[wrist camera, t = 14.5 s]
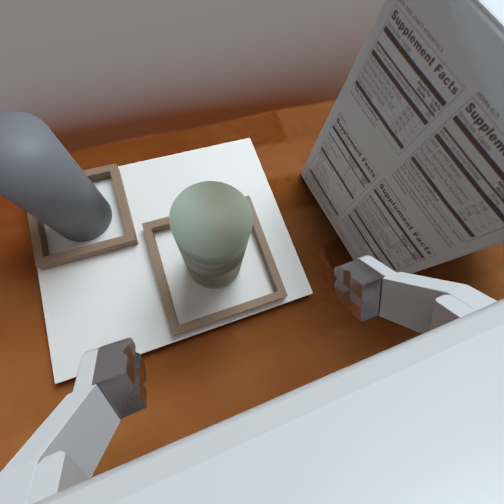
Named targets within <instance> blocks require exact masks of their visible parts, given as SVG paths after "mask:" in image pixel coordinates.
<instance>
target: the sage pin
mask: <svg viewBox="0 0 504 504" xmlns="http://www.w3.org/2000/svg"><path fill="white" fill-rule="evenodd" d="M169 224H170V229H171V232H172V234H173V237H174V239H175V241H176V244H177V246H178V248H179V251H180V253H181V255H182V257H183V260H184V262H185V264H186V267H187V269H188V271H189V274H190V276H191V277H192V279H193V280H194V281H195V282H196V283H198V284H199V285H201V286H203V287H205V288H210V289H218V288H222V287H225V286H227V285H229V284H230V283H231V282H233V281H234V280H235V278H236V277H237V275H238V273H239V271H240V268H241V264H242V261H243V257H244V254H245V251H246V247H247V244H248V241H249V237H250V234H251V230H252V227H253V213H252V209H251V206H250V204H249V202H248V200H247V199H246V197H245V196H244V195H243V194H242V193H241V192H240V191H239V190H237V189H236V188H234V187H233V186H231V185H228V184H226V183H223V182H218V181H204V182H199V183H196V184H193V185H191V186H189V187H187V188H186V189H184V190H183V191H182V192H181V193H180V194H179V195H178V196H177V197H176V199H175V200H174V202H173V204H172V206H171V209H170V213H169Z"/></svg>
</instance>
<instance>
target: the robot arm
mask: <svg viewBox="0 0 504 504" xmlns="http://www.w3.org/2000/svg"><path fill="white" fill-rule="evenodd" d="M334 276H335V277H336V278H337V280H336V282H335V283H334V291H335V294H336V297H337V298H338V300H339V301H340V302H341V303H342V304H343V305H345V306H348V307H350V312H351V313H352V314H353V315H354V316H355V317H356V318H357V319H358V320H359V321H360V322H362V321H365V320H367V319H370V318H373V317H376V316H378V315H379V316H380V317H382V318H385V319H387V320H390V321H392V322H394V323H397V324H399V325H402V326H404V327H407V328H409V329H411V330H414V331H416V332H419V333H421V335H419V336H417V337H414V338H412V339H410V340H407V341H405V342H403V343H401V344H398V345H396V346H394V347H391V348H389V349H387V350H384V351H382V352H380V353H377V354H375V355H373V356H371V357H368V358H366V359H364V360H361V361H359V362H357V363H354V364H352V365H350V366H348V367H345V368H343V369H341V370H338V371H336V372H334V373H331V374H329V375H327V376H325V377H322V378H320V379H318V380H315V381H313V382H311V383H308V384H306V385H304V386H302V387H299V388H297V389H295V390H292V391H290V392H288V393H285V394H283V395H281V396H279V397H276V398H274V399H272V400H269V401H267V402H265V403H262V404H260V405H258V406H256V407H253V408H251V409H249V410H246V411H244V412H242V413H240V414H237V415H235V416H233V417H230V418H228V419H226V420H223V421H221V422H219V423H217V424H214V425H212V426H210V427H207V428H205V429H203V430H200V431H198V432H196V433H194V434H191V435H189V436H187V437H184V438H182V439H180V440H177V441H175V442H173V443H171V444H168V445H166V446H164V447H161V448H159V449H157V450H154V451H152V452H150V453H148V454H145V455H143V456H141V457H138V458H136V459H134V460H131V461H129V462H127V463H125V464H122V465H120V466H118V467H115V468H113V469H111V470H108V471H106V472H104V473H102V474H99V475H97V476H95V477H92V475H93V473H94V471H95V469H96V467H97V465H98V463H99V461H100V459H101V457H102V456H103V454H104V452H105V450H106V448H107V446H108V444H109V442H110V440H111V438H112V436H113V434H114V432H115V431H116V429H117V427H118V425H119V423H120V421H121V420H120V419H122V418H124V417H126V416H129V415H131V414H133V413H136V412H138V411H140V410H143V409H145V408H147V403H146V389H145V387H144V385H143V384H144V383H145V381H146V370H145V365H144V362H143V359H142V357H141V355H140V353H137V352H135V348H136V345H135V343H134V341H133V340H132V338H130V337H129V338H126V339H123V340H120V341H117V342H114V343H110V344H107V345H104V346H101V347H99V348H95V349H92V350H89V351H86V352H84V353H83V355H82V357H81V361H80V365H79V369H78V373H77V377H76V381H75V385H74V389H73V393H70V394H68V395H67V396H66V397H65V398H64V399H63V400H62V402H61V403H60V404H59V405H58V406H57V407H56V409H55V410H54V411H53V412H52V413H51V414H50V415H49V417H48V418H47V419H46V420H45V421H44V422H43V424H42V425H41V426H40V427H39V428H38V429H37V431H36V432H35V433H34V434H33V435H32V436H31V438H30V439H29V440H28V441H27V442H26V443H25V444H24V446H23V447H22V448H21V449H20V450H19V451H18V453H17V454H16V455H15V456H14V457H13V458H12V460H11V461H10V462H9V463H8V464H7V465H6V467H5V468H4V469H3V470H2V471H1V472H0V504H504V299H502V300H499V301H496V300H494V299H493V298H491V297H489V296H487V295H485V294H483V293H482V292H480V291H478V290H476V289H474V288H472V287H471V286H469V285H466V284H461V283H456V282H451V281H446V280H440V279H435V278H430V277H425V276H420V275H415V274H409V273H404V272H398V273H397V272H395V271H393V270H392V269H390V268H389V267H387V266H386V265H384V264H383V263H381V262H379V261H378V260H376V259H375V258H373V257H372V256H369V255H366V256H363V257H360V258H358V259H356V260H353V261H350V262H347V263H344V264H342V265H339V266H336V267H335V269H334ZM91 477H92V478H91Z"/></svg>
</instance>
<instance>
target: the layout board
mask: <svg viewBox="0 0 504 504" xmlns="http://www.w3.org/2000/svg"><path fill="white" fill-rule="evenodd" d="M204 181H218V182H223V183H226V184H228V185H231V186H233V187H234V188H236V189H237V190H239V191H240V192H241V193H242V194H243V195H244V196H245V197H246V199H247V200H248V202H249V204H250V206H251V209H252V213H253V227H252V230H251V234H250V237H249V241H248V244H247V247H246V251H245V254H244V257H243V261H242V264H241V268H240V271H239V273H238V275H237V277H236V278H235V280H234V281H233V282H231V283H230V284H229V285H227V286H225V287H222V288H218V289H210V288H205V287H203V286H201V285H199V284H198V283H196V282H195V281H194V280H193V279H192V277H191V276H190V274H189V271H188V269H187V267H186V264H185V262H184V260H183V257H182V255H181V253H180V251H179V248H178V246H177V244H176V241H175V239H174V237H173V234H172V232H171V229H170V224H169V213H170V209H171V206H172V204H173V202H174V200H175V199H176V197H177V196H178V195H179V194H180V193H181V192H182V191H183V190H184V189H186V188H187V187H189V186H191V185H193V184H196V183H199V182H204ZM0 194H1V195H3V196H4V197H6V198H7V199H8V200H10V201H11V202H13V203H14V204H16V205H17V206H19V207H20V208H22V209H23V210H25V211H26V212H27V215H28V222H29V229H30V235H31V242H32V248H33V255H34V261H35V267H37V271H38V277H39V283H40V290H41V296H42V303H43V309H44V316H45V322H46V329H47V335H48V342H49V348H50V355H51V361H52V368H53V374H54V381H55V384H57V383H61V382H64V381H67V380H69V379H72V378H75V377H77V373H78V369H79V365H80V361H81V357H82V355H83V353H84V352H86V351H89V350H92V349H95V348H99V347H101V346H104V345H107V344H110V343H114V342H117V341H120V340H123V339H126V338H129V337H130V338H132V340H133V341H134V343H135V345H136V348H135V352H137V353H140V354H143V353H146V352H149V351H152V350H154V349H157V348H160V347H163V346H166V345H169V344H171V343H174V342H177V341H180V340H183V339H186V338H188V337H191V336H194V335H197V334H200V333H203V332H206V331H208V330H211V329H214V328H217V327H220V326H223V325H225V324H228V323H231V322H234V321H237V320H240V319H242V318H245V317H248V316H251V315H254V314H257V313H259V312H262V311H265V310H268V309H271V308H274V307H276V306H279V305H282V304H285V303H288V302H291V301H293V300H296V299H299V298H302V297H305V296H308V295H310V294H312V293H313V292H312V290H311V287H310V285H309V282H308V280H307V277H306V275H305V272H304V270H303V267H302V265H301V263H300V260H299V258H298V255H297V253H296V250H295V248H294V245H293V243H292V240H291V238H290V235H289V233H288V231H287V228H286V226H285V223H284V221H283V218H282V216H281V213H280V211H279V208H278V206H277V203H276V201H275V198H274V196H273V194H272V191H271V189H270V186H269V184H268V181H267V179H266V176H265V174H264V171H263V169H262V166H261V164H260V162H259V159H258V157H257V154H256V152H255V149H254V147H253V144H252V142H251V139H250V138H247V139H242V140H237V141H233V142H228V143H224V144H219V145H215V146H210V147H205V148H201V149H196V150H192V151H187V152H183V153H178V154H173V155H169V156H164V157H160V158H155V159H151V160H146V161H141V162H137V163H132V164H128V165H123V166H119V167H117V165H116V164H111V165H107V166H102V167H97V168H93V169H88V170H82V169H81V168H80V167H79V165H78V164H77V163H76V161H75V160H74V159H73V158H72V156H71V155H70V154H69V153H68V151H67V150H66V149H65V148H64V147H63V145H62V144H61V143H60V142H59V140H58V139H57V138H56V136H55V135H54V134H53V133H52V131H51V130H50V129H49V128H48V126H47V125H46V124H45V123H44V122H43V121H42V120H40V119H39V118H37V117H35V116H33V115H30V114H27V113H23V112H2V113H0Z"/></svg>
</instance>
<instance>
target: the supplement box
mask: <svg viewBox="0 0 504 504" xmlns="http://www.w3.org/2000/svg"><path fill="white" fill-rule="evenodd" d="M301 176H302V177H303V179H304V181H305V182H306V184H307V186H308V187H309V189H310V191H311V192H312V194H313V196H314V197H315V199H316V200H317V202H318V204H319V205H320V207H321V209H322V210H323V212H324V213H325V215H326V217H327V218H328V220H329V222H330V223H331V225H332V226H333V228H334V230H335V231H336V233H337V234H338V236H339V238H340V239H341V241H342V243H343V244H344V246H345V247H346V249H347V251H348V252H349V254H350V255H351V257H352V259H353V260H356V259H358V258H360V257H363V256H366V255H369V256H372V257H373V258H375V259H376V260H378V261H379V262H381V263H383V264H384V265H386V266H387V267H389V268H390V269H392V270H393V271H395V272H397V273H398V272H404V273H409V274H412V273H415V272H418V271H421V270H424V269H427V268H430V267H433V266H436V265H439V264H442V263H444V262H447V261H450V260H453V259H456V258H459V257H462V256H465V255H468V254H471V253H474V252H477V251H480V250H483V249H486V248H489V247H492V246H495V245H497V244H500V243H503V242H504V0H385V2H384V4H383V6H382V8H381V10H380V12H379V14H378V16H377V18H376V21H375V22H374V24H373V26H372V29H371V31H370V33H369V35H368V37H367V39H366V41H365V43H364V45H363V47H362V49H361V51H360V53H359V55H358V57H357V59H356V61H355V63H354V65H353V68H352V69H351V71H350V73H349V76H348V78H347V80H346V82H345V84H344V86H343V88H342V90H341V92H340V94H339V96H338V98H337V100H336V102H335V104H334V106H333V108H332V110H331V112H330V114H329V116H328V118H327V121H326V123H325V125H324V127H323V129H322V131H321V133H320V135H319V137H318V139H317V141H316V143H315V145H314V147H313V149H312V151H311V153H310V155H309V157H308V159H307V161H306V163H305V165H304V167H303V169H302V171H301Z"/></svg>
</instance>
